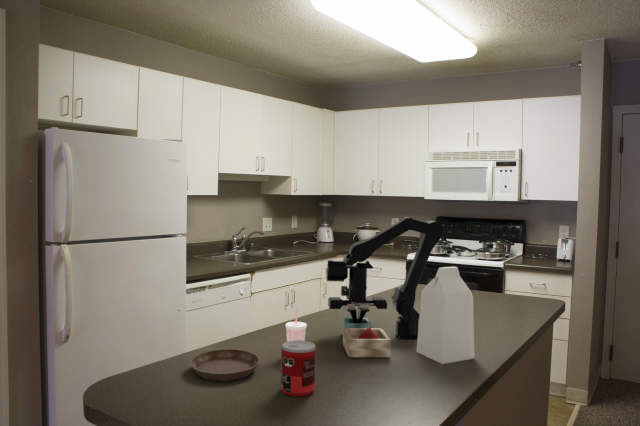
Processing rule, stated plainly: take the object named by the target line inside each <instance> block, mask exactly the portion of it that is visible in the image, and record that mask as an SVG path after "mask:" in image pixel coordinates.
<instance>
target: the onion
mask: <svg viewBox="0 0 640 426" xmlns="http://www.w3.org/2000/svg"><path fill="white" fill-rule="evenodd" d="M359 339H378V337H377V335H376V334H375V332H373V331H372V330H371V327H370V326H369V327H367V329H366V330H365V331H363V332H362V333H361V335H360V336H359Z"/></svg>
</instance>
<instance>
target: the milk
mask: <svg viewBox="0 0 640 426" xmlns="http://www.w3.org/2000/svg"><path fill="white" fill-rule="evenodd" d="M467 285H468V284H467V283H466V282H465V281H464V280H463V278H462V276H461V275H460V271H459V267H457V266H443V267H438V269H437V272H436V274H435V277H433V279H432V280H431V281H429V282H428V283H427V284H426V285H425V286H424V287H423V289H422V290H421V296H420V305H419V306H420V307H419V314H420V316H419V324H418V339H416V340H417V341H416V351H415V352H416V353H417V354H420V355H422V356H424V357H426V358H429V359H431V360H433V361H435V362H437V363H439V364H441V365H445V364H450V363H456V362H461V361H468V360H473V359H475V326H474V324H475V319H474V318H475V317H474V295H473V293H472V291H471V289H470V288H469V286H467Z"/></svg>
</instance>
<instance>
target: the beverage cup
mask: <svg viewBox="0 0 640 426" xmlns="http://www.w3.org/2000/svg"><path fill="white" fill-rule="evenodd" d="M284 325H285V328H286V329H285V330H286V342H288V341H306V329H307V328H308V324H307V323H306V322H302V321H298V306H295V319H294V321H287V323H285V324H284Z"/></svg>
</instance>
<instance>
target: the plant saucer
mask: <svg viewBox="0 0 640 426" xmlns="http://www.w3.org/2000/svg"><path fill="white" fill-rule="evenodd" d="M259 363H260V357H259V356H258V355H257V354H256V353H253V352H252V351H251V352H250V351H247V350H241V349H232V348H231V349H230V348H228V349H215V350H210V351H206V352H203V353H200V354H197V355H195V356H194V357H192V358H191V360H190V366H191V368H192V369H193V371H195V373H196V374H197V375H198V376H199V377H201V378H203V379H206V380H210V381H217V382H218V381H219V382H223V381H224V382H227V380H228V381H235V379H236V380H239V379H243V378H245V377H248V376H249V375H251V374H252V373H253V372H254V371H255V370H256V369H257V367H258V366H259Z"/></svg>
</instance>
